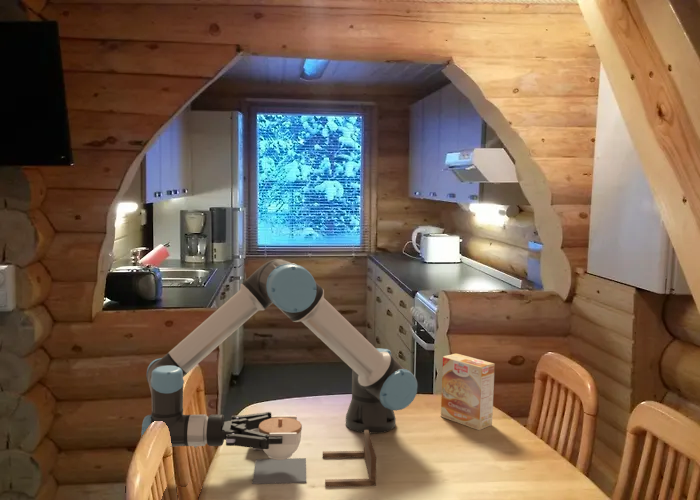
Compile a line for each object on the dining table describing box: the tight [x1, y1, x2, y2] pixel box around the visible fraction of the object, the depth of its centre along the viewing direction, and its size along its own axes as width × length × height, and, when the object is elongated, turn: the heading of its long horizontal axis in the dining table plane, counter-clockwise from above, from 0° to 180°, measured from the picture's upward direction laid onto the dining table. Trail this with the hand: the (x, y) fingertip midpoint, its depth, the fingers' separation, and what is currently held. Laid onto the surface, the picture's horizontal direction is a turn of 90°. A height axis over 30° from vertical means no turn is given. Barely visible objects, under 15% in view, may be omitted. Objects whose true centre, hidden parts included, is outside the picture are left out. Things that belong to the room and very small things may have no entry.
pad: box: [252, 457, 307, 485], centre depth 160 cm, size 13×13×1 cm
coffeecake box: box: [440, 353, 496, 431], centre depth 196 cm, size 15×7×20 cm, turn 42°
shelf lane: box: [322, 430, 377, 488], centre depth 161 cm, size 12×17×7 cm
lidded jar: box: [259, 417, 303, 460], centre depth 159 cm, size 11×11×9 cm
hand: (296, 429), depth 159 cm, fingers closed on lidded jar, 11 cm apart
